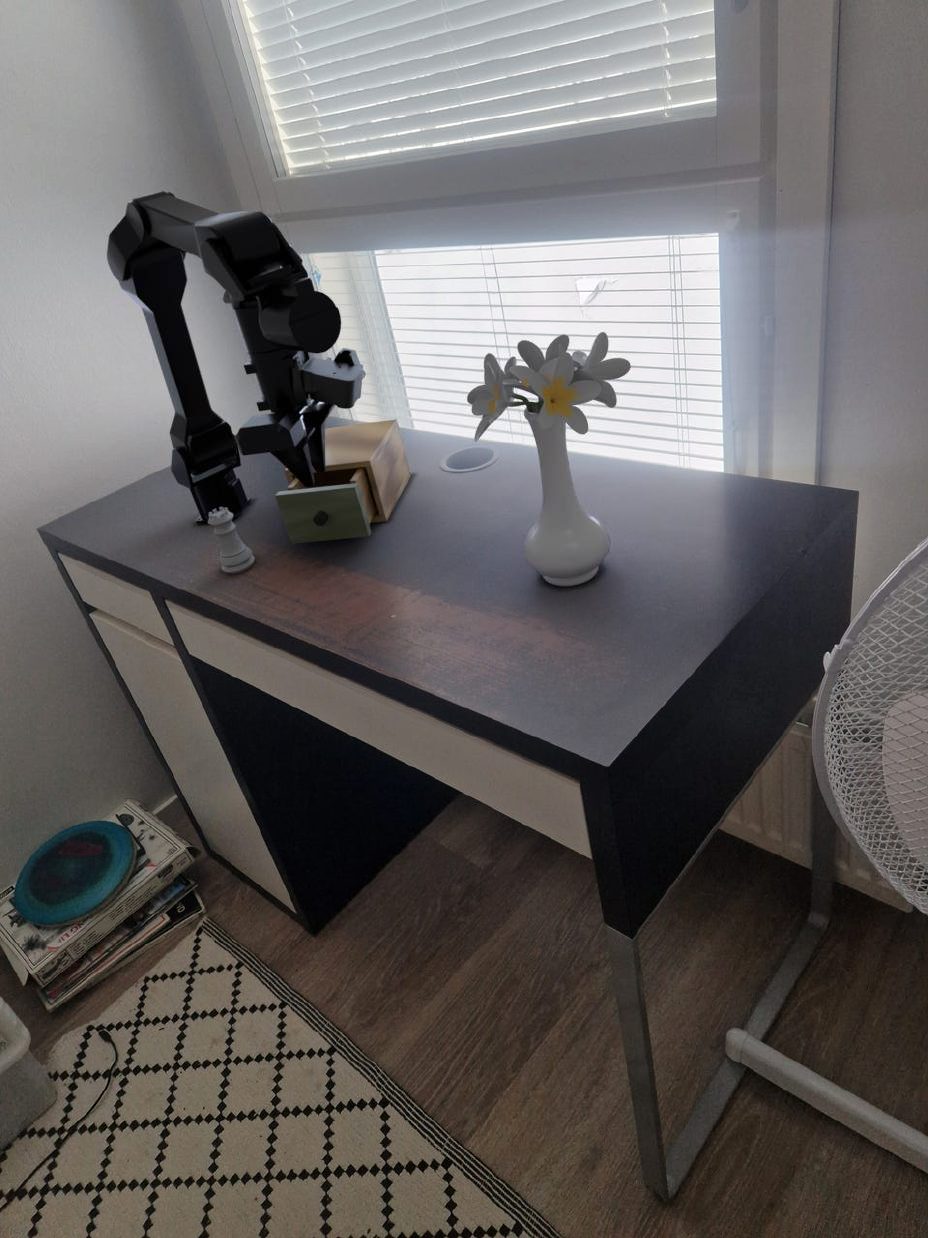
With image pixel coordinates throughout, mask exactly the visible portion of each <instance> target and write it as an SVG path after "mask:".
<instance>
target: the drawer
mask: <svg viewBox="0 0 928 1238" xmlns="http://www.w3.org/2000/svg"><path fill="white" fill-rule="evenodd" d="M313 475H314V483H315V484H314V486H312V487H305V486H304V485H303V484H302V483H301V482H300V481H299V480H298V479H297V478H295V479H294V480H293V481H292V483H291V484H290V485H289V484H288V486H287V490H280V491H277V492H276V494H275V496H274V497H275V500H276V503H277V506H278V509H279V511H280V514H281V516H282V520H283V523H284V525H285V528H286V531H287V534H288V537H289V540H290V543H291V544H300V543H314V542H323V541H334V540H335V541H336V540H345V539H355V538H357V539H358V538H368V537H370V536H371V534H372V529H371V525H370V524H371V523H370V522H371V521H372V519H373V517H374V515H375V514H376V512H377V510H378V508H377V505H376V501H375V498H374V494H373V491H372V487H371V483H370V480H369V476H368V473H367V469H366V467H359V468H350V469H342V470H333V471H324V472H315V473H313Z"/></svg>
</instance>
